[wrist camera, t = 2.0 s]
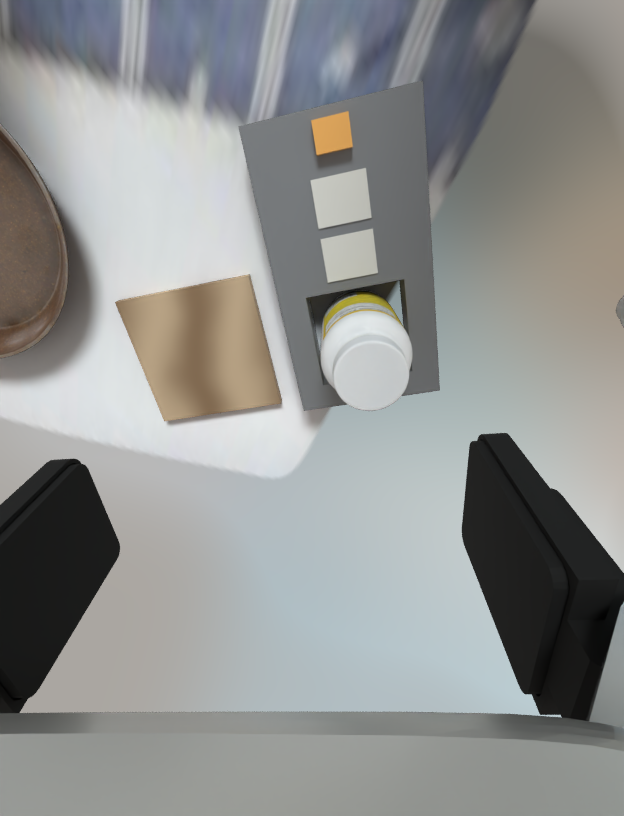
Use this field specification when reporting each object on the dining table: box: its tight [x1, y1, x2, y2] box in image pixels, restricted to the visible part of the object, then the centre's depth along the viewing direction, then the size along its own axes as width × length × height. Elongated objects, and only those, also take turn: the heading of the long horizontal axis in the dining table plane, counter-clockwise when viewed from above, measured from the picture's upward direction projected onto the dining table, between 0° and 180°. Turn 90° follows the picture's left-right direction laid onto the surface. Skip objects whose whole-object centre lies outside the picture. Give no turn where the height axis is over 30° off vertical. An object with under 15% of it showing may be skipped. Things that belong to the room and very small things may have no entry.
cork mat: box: [115, 274, 282, 421], centre depth 31 cm, size 10×10×1 cm
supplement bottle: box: [320, 290, 412, 411], centre depth 25 cm, size 5×5×10 cm
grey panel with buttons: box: [239, 81, 440, 411], centre depth 26 cm, size 10×18×3 cm, turn 11°
